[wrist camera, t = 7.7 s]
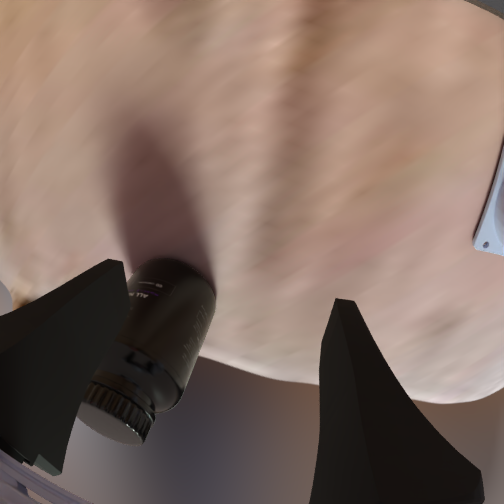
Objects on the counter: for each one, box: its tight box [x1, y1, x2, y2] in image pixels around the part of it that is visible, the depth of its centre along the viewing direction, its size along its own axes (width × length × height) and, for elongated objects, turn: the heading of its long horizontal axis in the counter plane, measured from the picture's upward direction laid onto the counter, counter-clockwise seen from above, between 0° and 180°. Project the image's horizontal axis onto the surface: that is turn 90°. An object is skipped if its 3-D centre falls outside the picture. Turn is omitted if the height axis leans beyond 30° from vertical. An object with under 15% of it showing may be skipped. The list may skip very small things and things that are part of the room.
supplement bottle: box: [77, 258, 216, 446], centre depth 19 cm, size 7×7×12 cm
